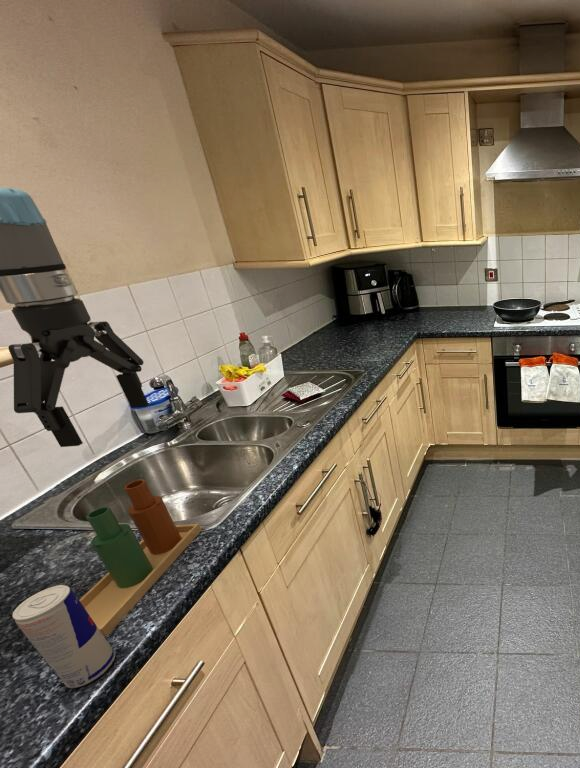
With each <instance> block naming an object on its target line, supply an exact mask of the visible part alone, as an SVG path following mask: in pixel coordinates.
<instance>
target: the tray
mask: <svg viewBox="0 0 580 768" xmlns="http://www.w3.org/2000/svg"><path fill="white" fill-rule="evenodd" d="M175 526H176V528H177V530H178V532H179V534H180V536H181V538H182V539H181V541H180V542H179V543H178V544H177V545H176V546H175V547H174V548H173V549H172V550H170V551H168V552H165V553H162V554H157V555H153V554H151V553H150V551H149V549H148V547H147V546H146V544H145V542H144V540H143V539H142V540H141V541H139V543H140V545H141V547H142V549H143V551H144V553H145V554H146V556H147V558H148V560H149V562H150V563H151V565H152V567H153V571H152V572H151V573H150V574H149V575H148V576H147V577H146V578H145V579H144V580H143V581H142V582H141V583H139V584H137V585H135V586H132V587H129V588H119V587H118V586H117V585H116V583H115V581H114V580H113V578H112V576H111V575H110V573H109V572H107V573H106V574H105V575H104V576H102V578H101V579H100V580H98V582H97V583H96V584H94V585H93V586H92V587H91V588H90V589H89V590H88V591H87V592H86V593H85V594H84V595H82V596H81V598H80V599H79V601H80V602H81V604H82V605H83V607H84V608H85V610H86V611H87V612H88V614H89V615H90V617H91V618H92V620H93V621H94V623H95V624H96V626H97V627H98V629H99V630H100V632H101V633H102V634H103V636H104V637H105V638H107V637H108V636H109V635H110V634H111V633H112V631H114V629H115V628H116V627H117V626H118V625H119V624H120V623H121V621H122V620H123V619H124V618H125V617H126V616H127V615H128V614H129V613H130V611H131V610H132V609H133V608H134V607H135V606H136V605H137V604H138V602H139V601H140V600H141V599H142V598H143V597H144V596H145V595H146V594H147V592H148V591H149V590H150V589H151V588H152V587H153V585H154V584H155V583H157V581H158V580H159V579H160V578H161V577H162V575H164V573H165V572H166V571H167V570H168V569H169V568H170V566H171V565H172V564H174V562H175V561H176V560H177V559H178V558H179V557H180V556H181V554H182V553H183V552H185V550H186V549H187V548H188V546H190V545H191V543H192V542H193V541H194V540H195V539H196V538H197V537H198V535H199V534H200V533H201V532H202V531H203V530H202V527H201V525H200V523H190V524H177V525H176V524H175Z"/></svg>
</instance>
